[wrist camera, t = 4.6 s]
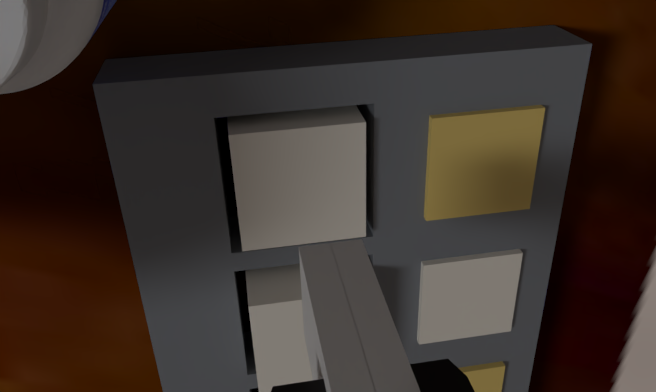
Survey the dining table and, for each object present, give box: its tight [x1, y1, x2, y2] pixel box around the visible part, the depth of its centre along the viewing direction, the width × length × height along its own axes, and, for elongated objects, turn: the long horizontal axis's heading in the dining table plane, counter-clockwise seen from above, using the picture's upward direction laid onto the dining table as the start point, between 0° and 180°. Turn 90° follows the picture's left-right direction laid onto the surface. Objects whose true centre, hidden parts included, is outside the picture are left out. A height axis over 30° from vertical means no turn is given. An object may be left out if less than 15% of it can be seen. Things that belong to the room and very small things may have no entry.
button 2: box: [245, 263, 313, 392], centre depth 23 cm, size 4×4×2 cm
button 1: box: [227, 105, 366, 251], centre depth 21 cm, size 4×4×2 cm
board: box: [92, 25, 592, 392], centre depth 27 cm, size 26×16×3 cm, turn 2°
